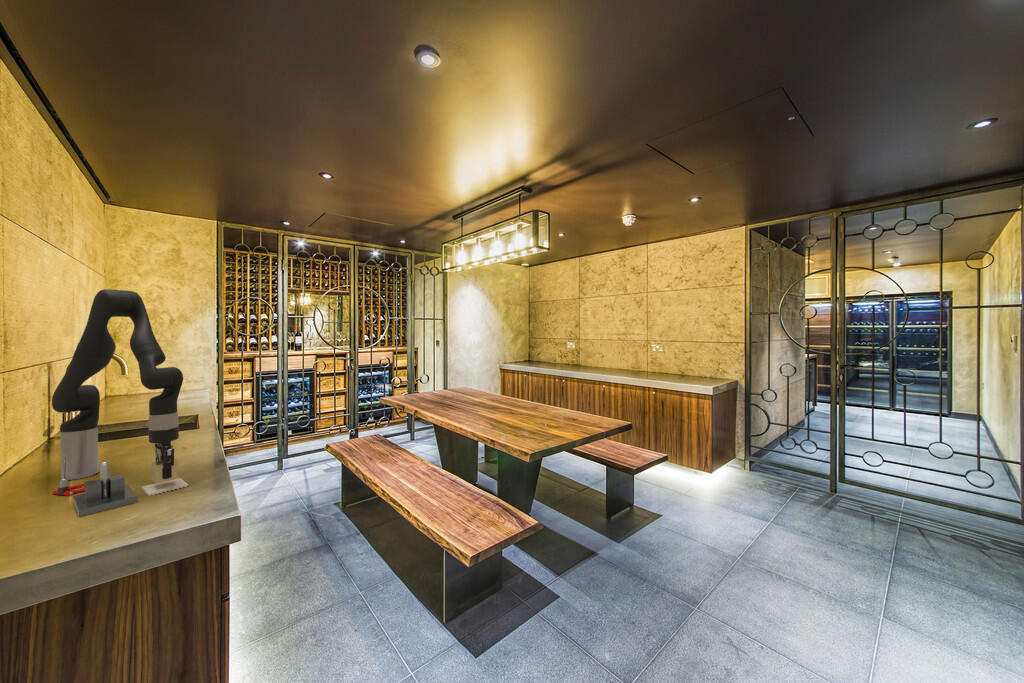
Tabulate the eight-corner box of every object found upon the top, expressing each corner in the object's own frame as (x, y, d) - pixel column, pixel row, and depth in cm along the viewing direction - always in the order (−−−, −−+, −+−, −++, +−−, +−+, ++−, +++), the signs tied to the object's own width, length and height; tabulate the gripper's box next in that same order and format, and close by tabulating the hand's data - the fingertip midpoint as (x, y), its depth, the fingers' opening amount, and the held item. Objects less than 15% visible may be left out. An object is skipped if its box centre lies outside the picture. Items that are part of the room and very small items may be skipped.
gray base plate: (73, 502, 119) (72, 462, 119) (127, 489, 129) (126, 452, 128) (79, 517, 109) (78, 473, 109) (137, 502, 119) (136, 462, 119)
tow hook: (85, 485, 134) (49, 495, 125) (86, 448, 134) (51, 455, 125) (105, 487, 132) (70, 497, 123) (106, 449, 133) (72, 456, 124)
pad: (141, 489, 129) (141, 486, 129) (180, 480, 137) (180, 477, 137) (148, 496, 123) (148, 494, 123) (188, 486, 131) (188, 484, 131)
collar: (151, 479, 129) (151, 462, 129) (173, 475, 134) (173, 457, 134) (155, 483, 126) (155, 465, 126) (177, 478, 131) (177, 461, 130)
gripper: (144, 425, 131) (145, 475, 131) (153, 432, 122) (154, 484, 123) (172, 421, 137) (173, 469, 137) (184, 427, 128) (185, 477, 129)
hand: (164, 476), depth 130 cm, fingers closed on collar, 5 cm apart
